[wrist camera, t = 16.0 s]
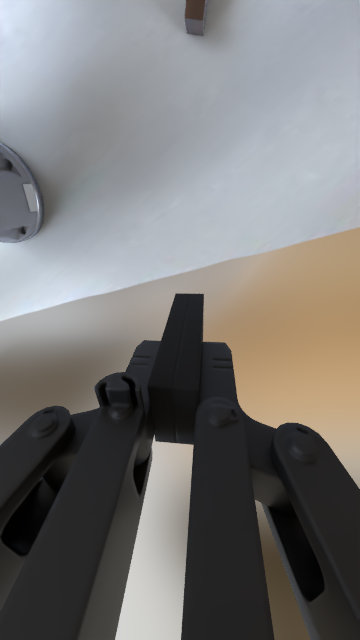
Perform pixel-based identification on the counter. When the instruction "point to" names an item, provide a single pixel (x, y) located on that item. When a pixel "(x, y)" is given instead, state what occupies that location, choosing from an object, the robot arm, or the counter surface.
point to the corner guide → (195, 16)
